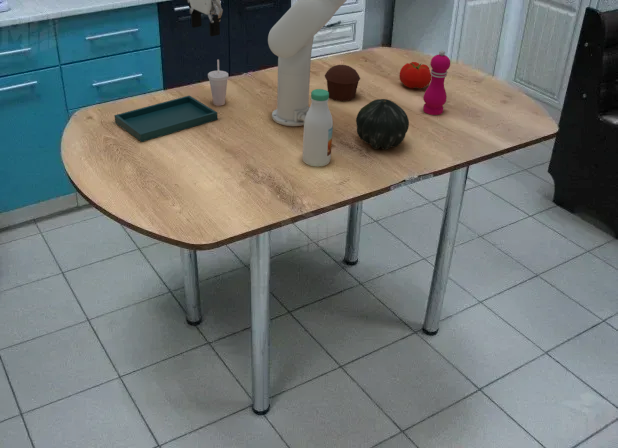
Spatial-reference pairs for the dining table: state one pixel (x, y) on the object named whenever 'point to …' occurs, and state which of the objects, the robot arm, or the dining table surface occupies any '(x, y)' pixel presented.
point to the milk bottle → (318, 130)
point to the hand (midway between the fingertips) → (205, 30)
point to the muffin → (342, 82)
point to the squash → (382, 124)
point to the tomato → (415, 75)
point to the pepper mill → (436, 85)
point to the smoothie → (218, 85)
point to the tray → (165, 118)
